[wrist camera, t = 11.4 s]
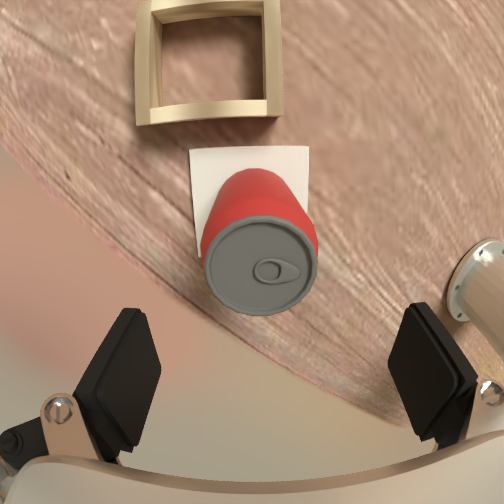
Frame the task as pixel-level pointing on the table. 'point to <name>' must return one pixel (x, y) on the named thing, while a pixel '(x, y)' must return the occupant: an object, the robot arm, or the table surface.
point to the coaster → (237, 159)
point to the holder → (152, 111)
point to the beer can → (258, 245)
